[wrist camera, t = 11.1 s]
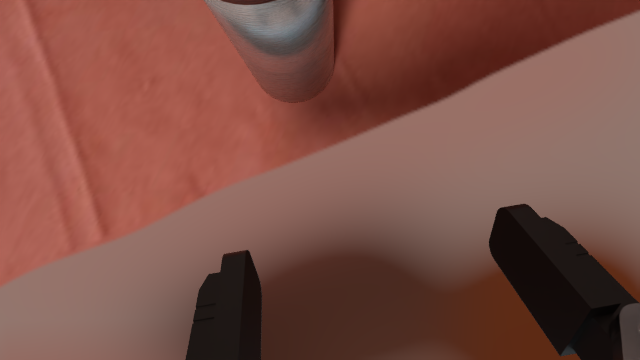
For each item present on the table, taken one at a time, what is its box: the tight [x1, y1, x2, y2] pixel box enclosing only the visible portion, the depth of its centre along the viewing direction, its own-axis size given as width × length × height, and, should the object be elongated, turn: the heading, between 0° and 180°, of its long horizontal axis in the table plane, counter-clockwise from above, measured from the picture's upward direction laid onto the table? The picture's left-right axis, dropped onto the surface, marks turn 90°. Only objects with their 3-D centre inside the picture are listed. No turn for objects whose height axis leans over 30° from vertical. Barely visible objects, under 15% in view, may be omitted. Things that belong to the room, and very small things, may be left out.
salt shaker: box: [204, 0, 334, 103], centre depth 15 cm, size 5×5×11 cm
